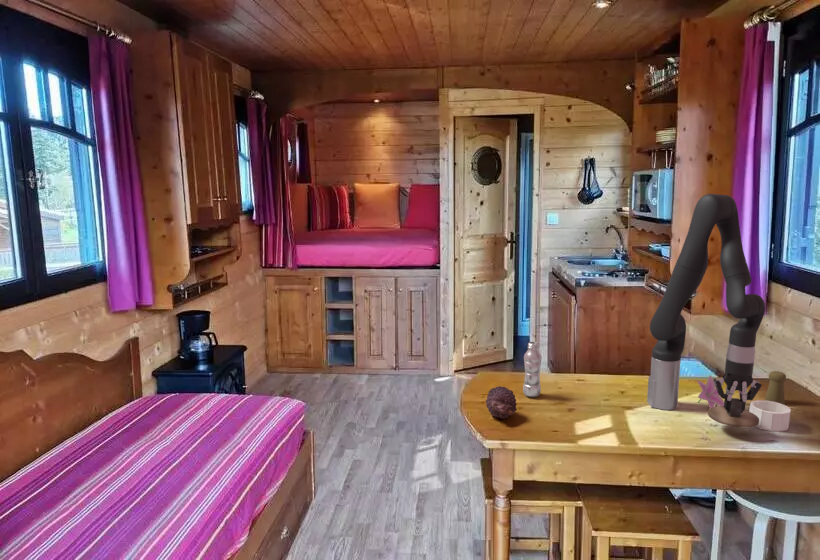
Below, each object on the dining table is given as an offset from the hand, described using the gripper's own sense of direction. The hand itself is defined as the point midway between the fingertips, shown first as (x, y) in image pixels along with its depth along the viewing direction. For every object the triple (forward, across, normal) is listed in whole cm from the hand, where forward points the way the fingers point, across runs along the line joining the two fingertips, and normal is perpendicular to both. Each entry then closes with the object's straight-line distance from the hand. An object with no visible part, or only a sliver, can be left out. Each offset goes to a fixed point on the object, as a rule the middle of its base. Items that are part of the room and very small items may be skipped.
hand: (733, 411), depth 186 cm
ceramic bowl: (+7, +14, +7) cm, 17 cm away
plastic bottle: (+8, -60, +23) cm, 65 cm away
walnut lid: (+2, 0, 0) cm, 2 cm away
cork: (+7, +24, +28) cm, 38 cm away
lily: (+7, 0, +21) cm, 22 cm away
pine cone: (+8, -72, +3) cm, 72 cm away
